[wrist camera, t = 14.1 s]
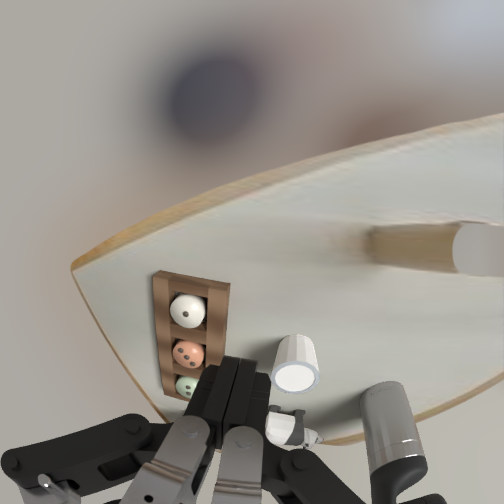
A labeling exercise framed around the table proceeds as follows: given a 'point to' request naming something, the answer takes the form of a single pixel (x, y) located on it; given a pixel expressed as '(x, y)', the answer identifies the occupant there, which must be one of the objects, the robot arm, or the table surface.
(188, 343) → the button three
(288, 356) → the white tapered cylinder
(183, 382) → the button two
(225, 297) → the button board
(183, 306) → the button one
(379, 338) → the table surface
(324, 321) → the table surface
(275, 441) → the giant panda
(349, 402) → the table surface
